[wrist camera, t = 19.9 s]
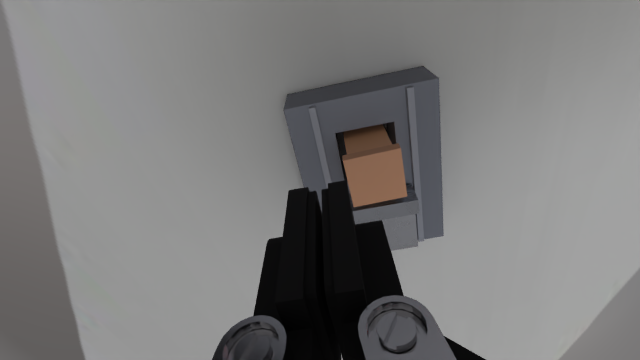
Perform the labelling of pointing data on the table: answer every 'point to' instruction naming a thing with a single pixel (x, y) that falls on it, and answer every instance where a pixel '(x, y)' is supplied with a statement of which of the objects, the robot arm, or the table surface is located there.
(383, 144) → the plug
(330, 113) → the socket box
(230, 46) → the table surface
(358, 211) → the shutter
